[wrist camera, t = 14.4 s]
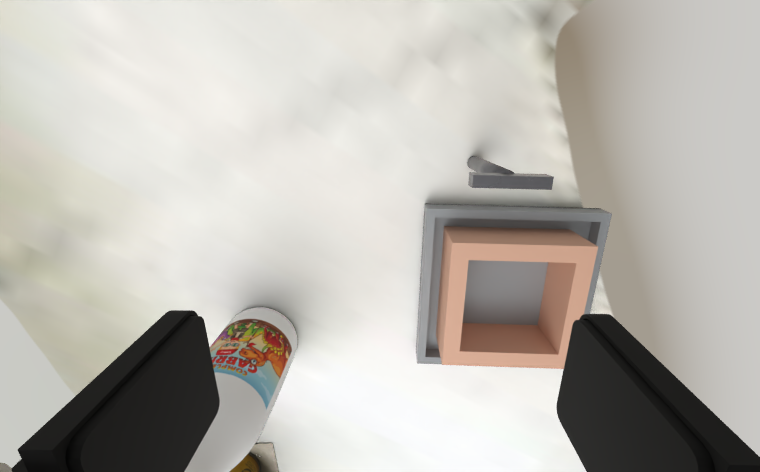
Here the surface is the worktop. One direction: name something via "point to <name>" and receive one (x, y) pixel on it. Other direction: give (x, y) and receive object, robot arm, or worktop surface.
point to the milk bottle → (245, 385)
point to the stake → (504, 177)
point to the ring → (506, 341)
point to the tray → (497, 266)
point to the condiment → (258, 460)
